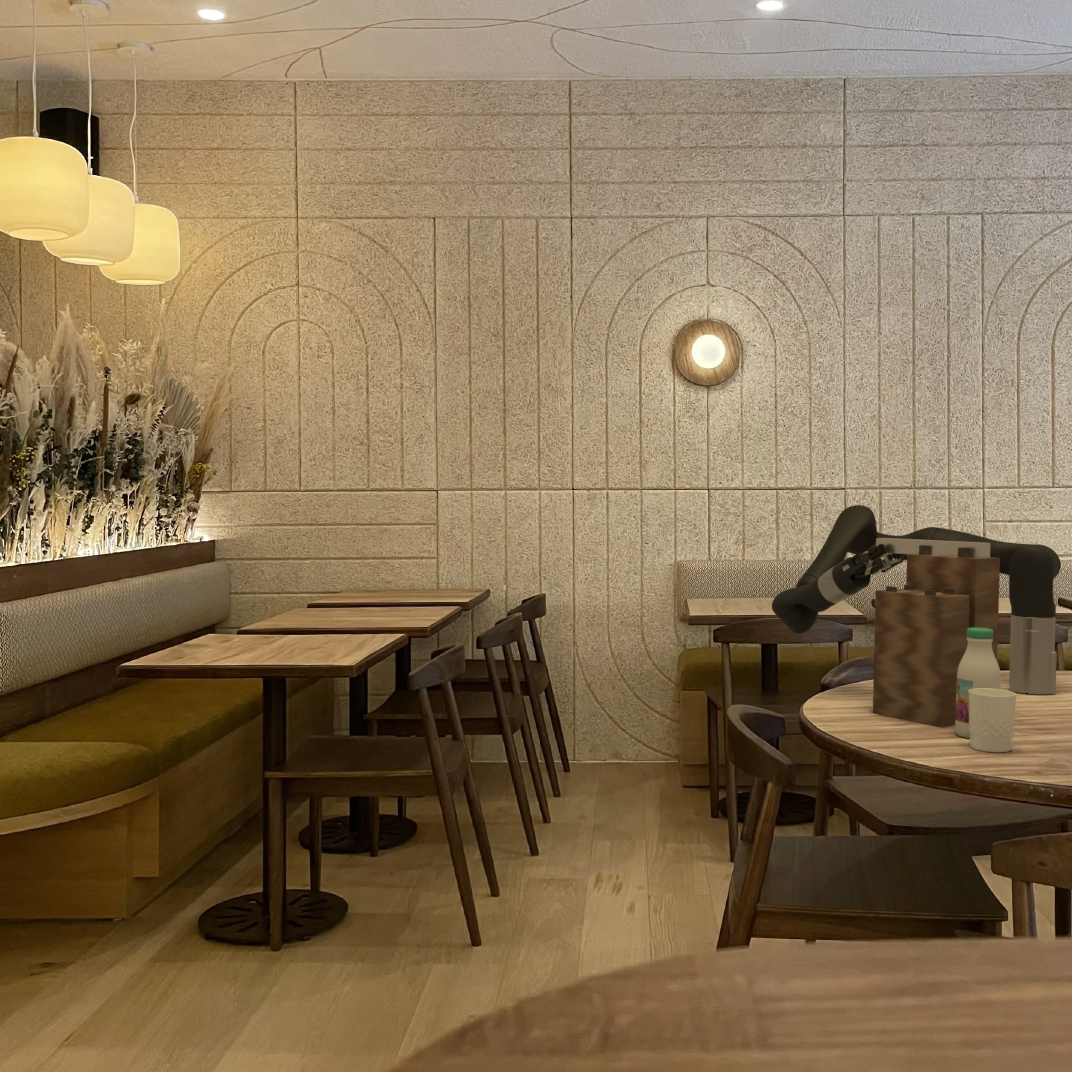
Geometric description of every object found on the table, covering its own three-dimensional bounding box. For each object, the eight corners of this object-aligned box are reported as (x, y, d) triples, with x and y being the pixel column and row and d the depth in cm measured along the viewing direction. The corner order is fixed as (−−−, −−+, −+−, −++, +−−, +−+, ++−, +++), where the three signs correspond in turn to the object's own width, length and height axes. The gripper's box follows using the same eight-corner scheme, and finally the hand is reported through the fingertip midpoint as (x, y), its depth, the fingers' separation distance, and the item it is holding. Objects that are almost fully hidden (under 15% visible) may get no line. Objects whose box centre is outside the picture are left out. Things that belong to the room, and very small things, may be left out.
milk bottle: (998, 733, 214) (1001, 627, 213) (1000, 742, 207) (1003, 632, 206) (954, 730, 217) (957, 625, 216) (955, 738, 209) (958, 629, 209)
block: (876, 552, 244) (876, 538, 244) (883, 551, 246) (884, 537, 246) (982, 558, 226) (982, 543, 226) (990, 557, 228) (990, 542, 228)
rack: (872, 713, 232) (876, 546, 230) (926, 704, 242) (930, 544, 241) (941, 727, 219) (946, 550, 217) (995, 716, 230) (1000, 547, 228)
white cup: (958, 743, 205) (960, 688, 205) (1001, 743, 206) (1002, 688, 206) (979, 753, 198) (981, 696, 197) (1023, 753, 198) (1024, 696, 198)
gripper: (816, 566, 252) (869, 532, 240) (857, 564, 260) (910, 530, 249) (829, 597, 249) (883, 563, 237) (870, 594, 258) (925, 561, 246)
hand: (897, 547), depth 243 cm, fingers open, 8 cm apart
